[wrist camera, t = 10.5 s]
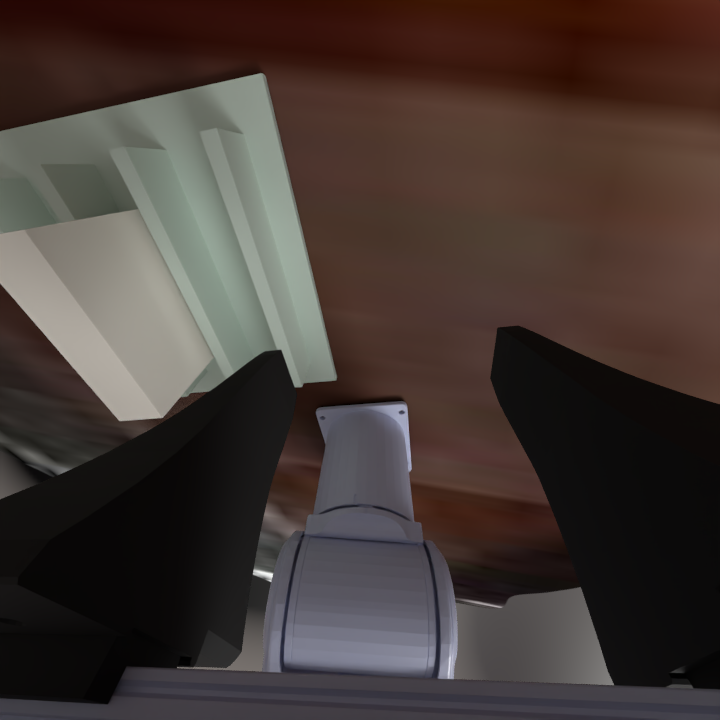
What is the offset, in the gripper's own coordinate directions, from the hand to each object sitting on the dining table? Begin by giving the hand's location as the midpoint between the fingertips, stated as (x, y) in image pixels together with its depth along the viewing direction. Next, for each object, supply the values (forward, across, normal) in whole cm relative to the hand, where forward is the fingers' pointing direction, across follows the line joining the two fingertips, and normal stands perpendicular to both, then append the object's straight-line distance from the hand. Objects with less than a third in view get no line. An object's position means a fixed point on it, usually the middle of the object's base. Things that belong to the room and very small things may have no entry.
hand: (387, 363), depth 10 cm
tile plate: (+10, +13, -1) cm, 16 cm away
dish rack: (+10, +13, -1) cm, 17 cm away
